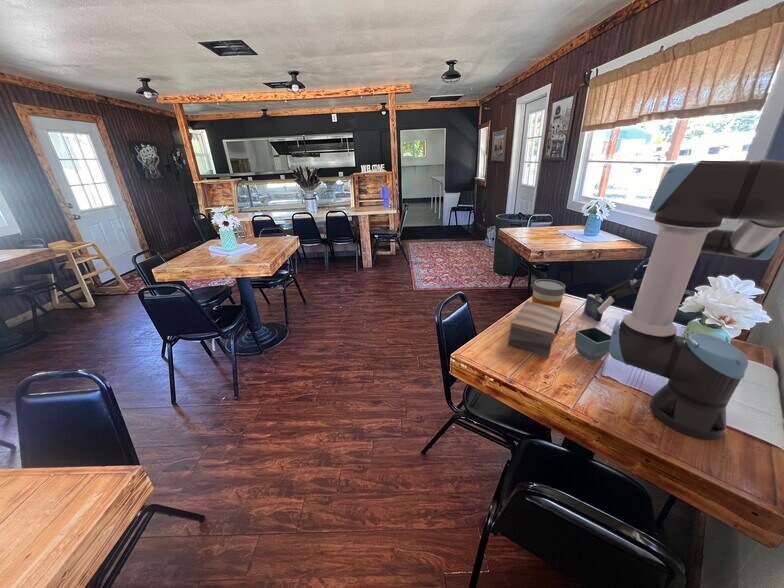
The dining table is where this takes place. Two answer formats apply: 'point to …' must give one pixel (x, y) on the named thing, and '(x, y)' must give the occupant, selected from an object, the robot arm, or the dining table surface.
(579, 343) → the flower pot
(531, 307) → the grey wooden block
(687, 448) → the dining table surface
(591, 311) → the flask
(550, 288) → the reusable coffee cup
